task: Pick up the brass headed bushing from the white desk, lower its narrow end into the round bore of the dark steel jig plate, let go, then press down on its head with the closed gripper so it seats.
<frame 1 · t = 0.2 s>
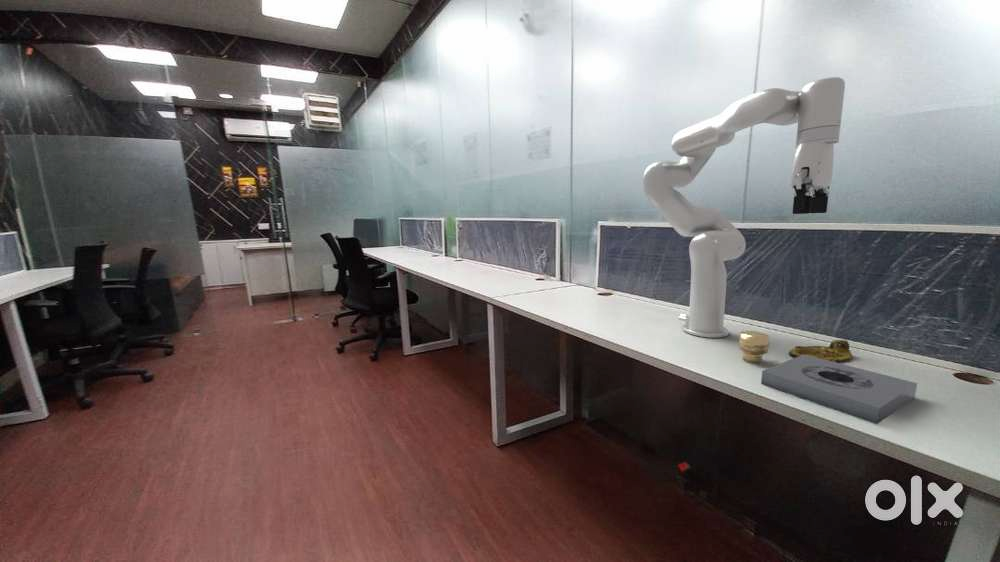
hand: (809, 213, 85), 36 cm above the table, tool pointing down, fingers open, 9 cm apart
bushing: (752, 360, 89), on the table
jig: (833, 390, 73), on the table
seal: (819, 357, 91), on the table
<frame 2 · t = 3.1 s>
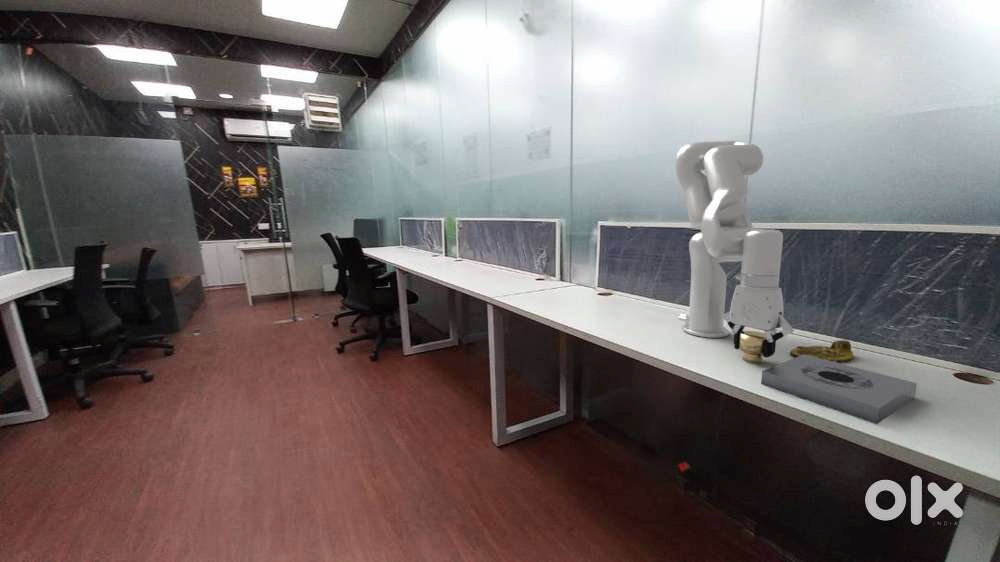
hand: (753, 351, 89), 2 cm above the table, tool pointing down, fingers closed on bushing, 6 cm apart
bushing: (752, 360, 89), on the table, touching gripper
everything else where it was.
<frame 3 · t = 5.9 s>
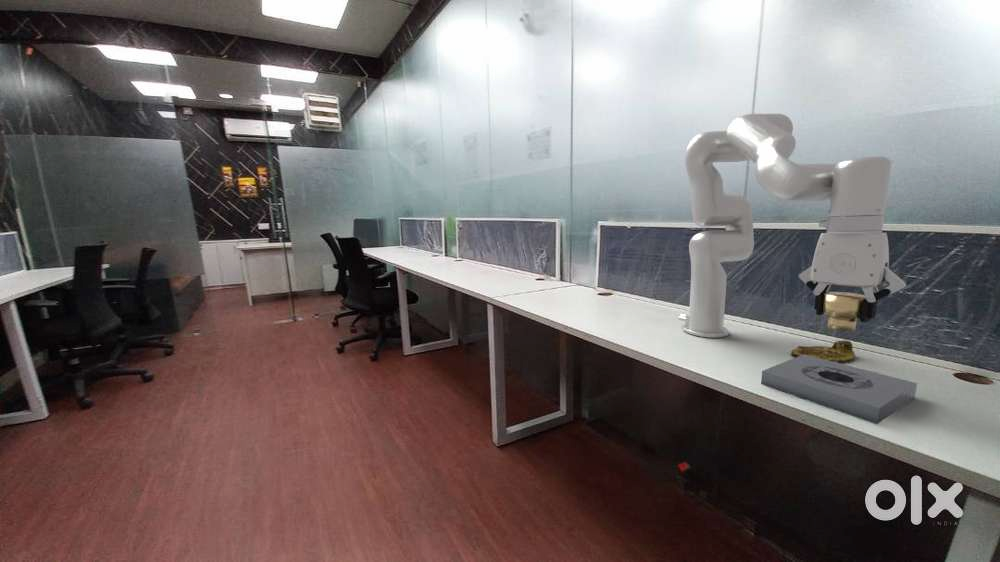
hand: (842, 316, 70), 16 cm above the table, tool pointing down, fingers closed on bushing, 6 cm apart
bushing: (841, 328, 71), point 13 cm above the table, touching gripper
everything else where it was.
when the fingers open (4 cm above the table, at t = 8.5 s): bushing drops 1 cm, resting on jig.
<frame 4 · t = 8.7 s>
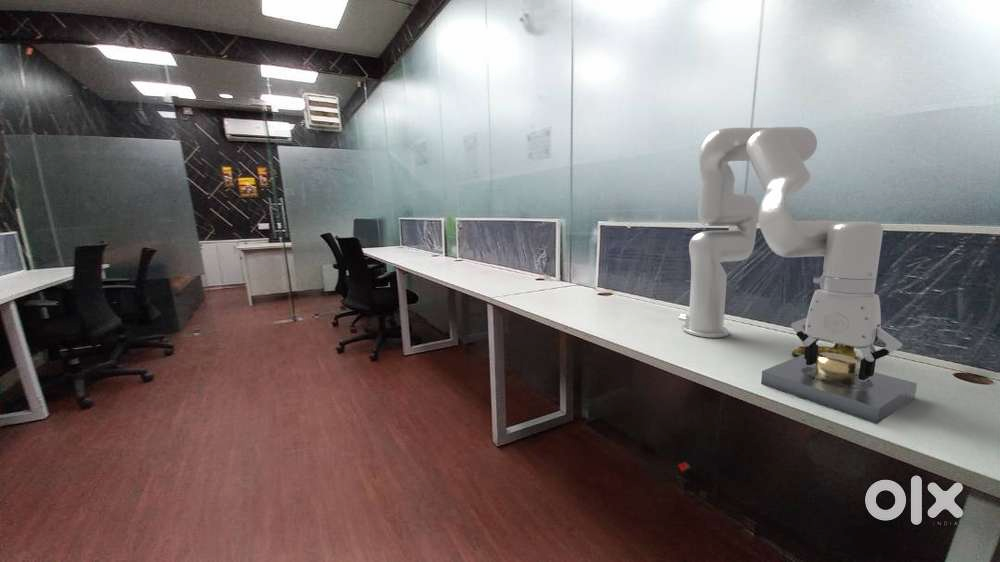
hand: (836, 370, 72), 4 cm above the table, tool pointing down, fingers open, 7 cm apart
bushing: (832, 389, 73), resting on jig
everything else where it was.
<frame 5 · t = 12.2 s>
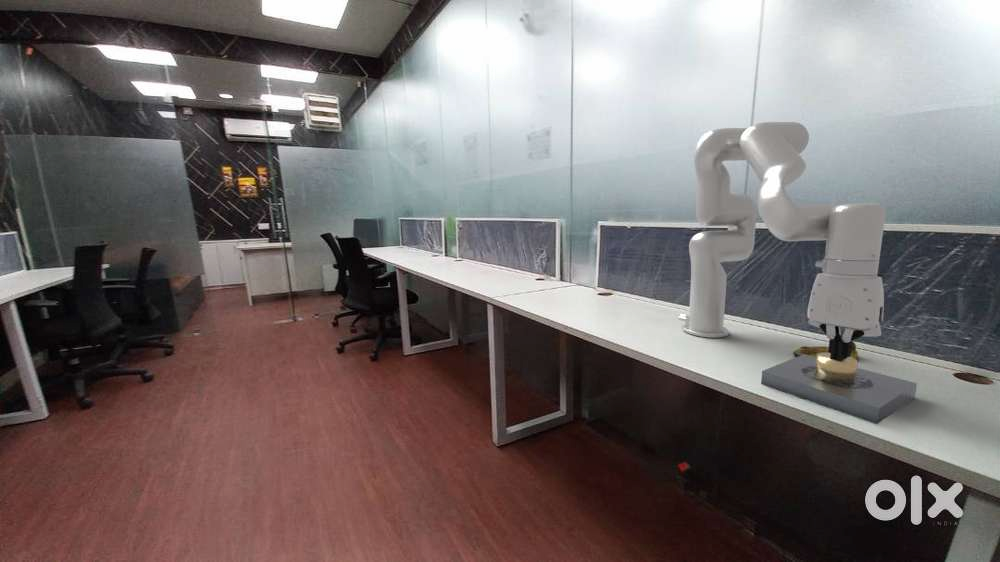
hand: (838, 358, 72), 7 cm above the table, tool pointing down, fingers closed
bushing: (832, 389, 73), resting on jig, touching gripper
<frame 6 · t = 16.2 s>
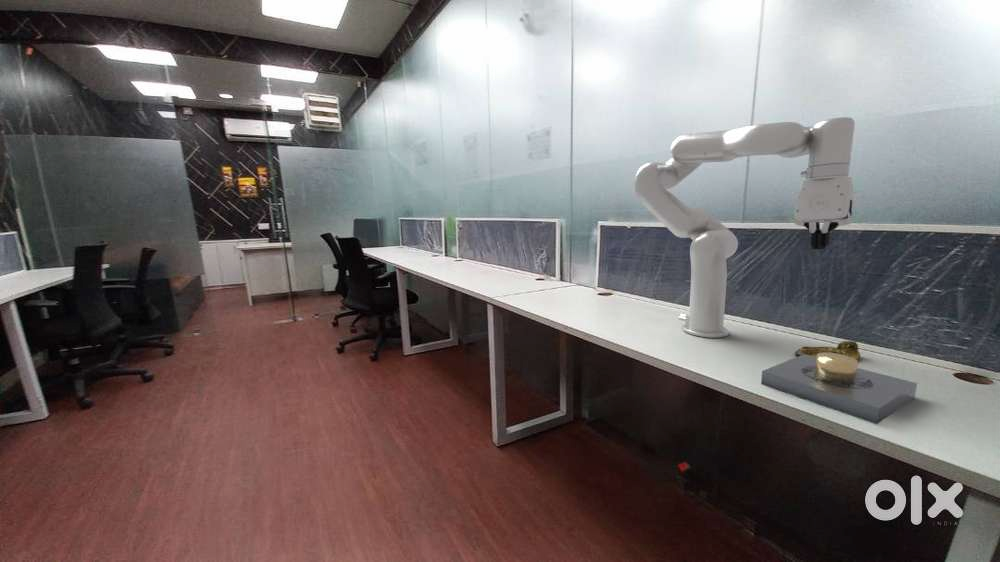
hand: (818, 248, 89), 27 cm above the table, tool pointing down, fingers closed
bushing: (832, 389, 73), resting on jig
at the end: bushing 0.2 cm off-centre on the jig, point 0.2 cm above the jig's base; bushing tilted 0°; the gripper is holding nothing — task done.
